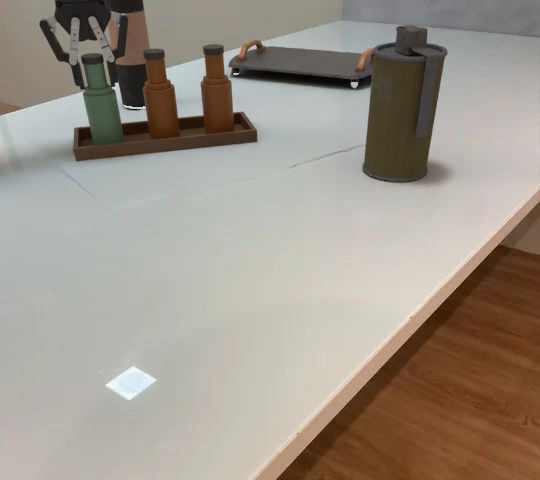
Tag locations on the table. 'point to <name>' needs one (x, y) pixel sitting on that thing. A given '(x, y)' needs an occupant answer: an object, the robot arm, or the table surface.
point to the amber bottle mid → (159, 97)
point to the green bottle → (101, 102)
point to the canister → (403, 105)
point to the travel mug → (131, 51)
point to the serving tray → (304, 61)
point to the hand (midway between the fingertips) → (97, 86)
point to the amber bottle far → (216, 92)
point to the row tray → (142, 144)
